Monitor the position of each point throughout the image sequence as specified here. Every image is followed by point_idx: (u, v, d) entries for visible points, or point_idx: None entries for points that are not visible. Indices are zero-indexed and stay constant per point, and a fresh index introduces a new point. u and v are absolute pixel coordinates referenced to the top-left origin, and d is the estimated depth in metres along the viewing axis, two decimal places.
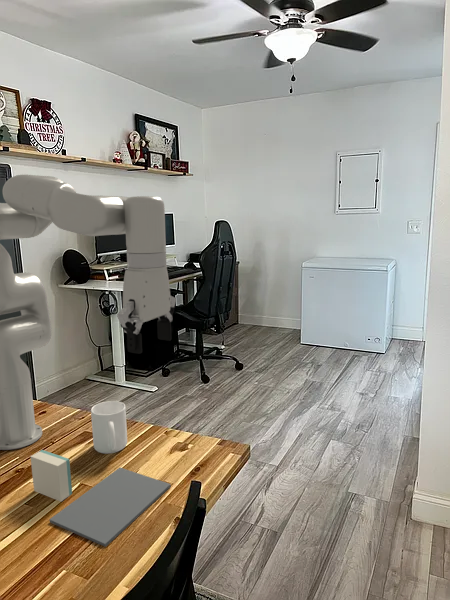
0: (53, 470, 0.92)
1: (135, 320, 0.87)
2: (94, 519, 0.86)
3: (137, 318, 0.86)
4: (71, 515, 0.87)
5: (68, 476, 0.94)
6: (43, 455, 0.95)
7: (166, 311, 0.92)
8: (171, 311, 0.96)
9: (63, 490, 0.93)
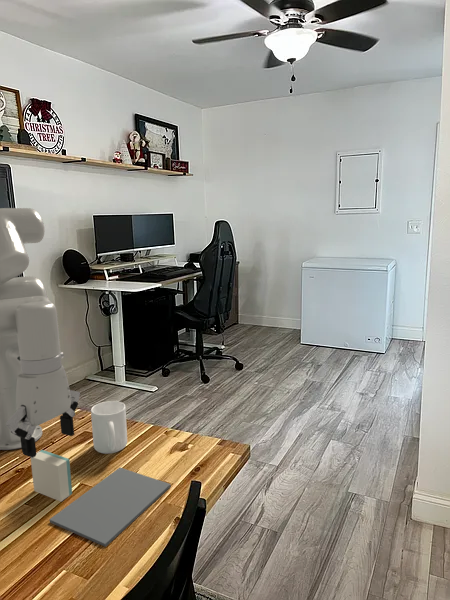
0: (53, 470, 0.92)
1: (28, 424, 0.88)
2: (94, 519, 0.86)
3: (30, 422, 0.88)
4: (71, 515, 0.87)
5: (68, 476, 0.94)
6: (43, 455, 0.95)
7: (65, 409, 0.94)
8: (74, 406, 0.97)
9: (63, 490, 0.93)
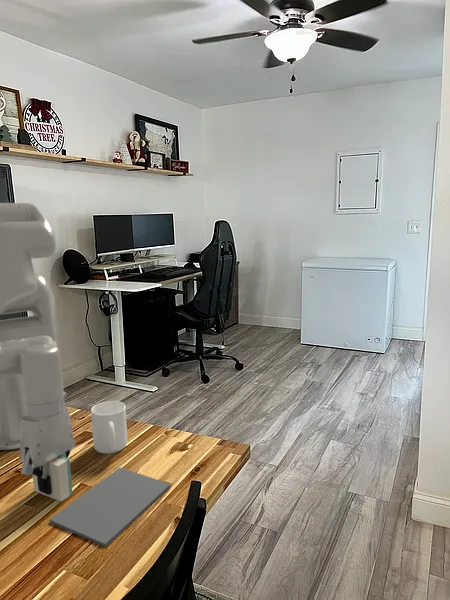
0: (53, 470, 0.92)
1: None
2: (94, 519, 0.86)
3: None
4: (71, 515, 0.87)
5: (68, 476, 0.94)
6: None
7: (67, 448, 0.96)
8: (66, 455, 0.97)
9: (63, 490, 0.93)
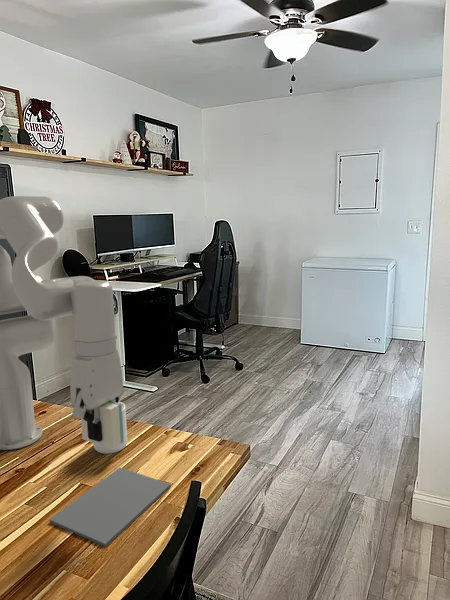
0: (105, 414, 0.86)
1: None
2: (94, 519, 0.86)
3: None
4: (71, 515, 0.87)
5: (120, 422, 0.88)
6: None
7: (118, 393, 0.90)
8: (115, 401, 0.92)
9: (115, 436, 0.87)
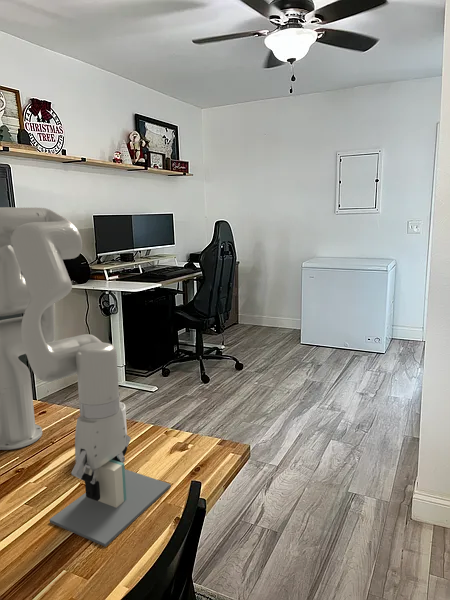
0: (109, 475, 0.89)
1: (91, 468, 0.88)
2: (94, 519, 0.86)
3: None
4: (71, 515, 0.87)
5: (123, 481, 0.91)
6: None
7: (121, 450, 0.93)
8: (123, 451, 0.95)
9: (118, 495, 0.90)
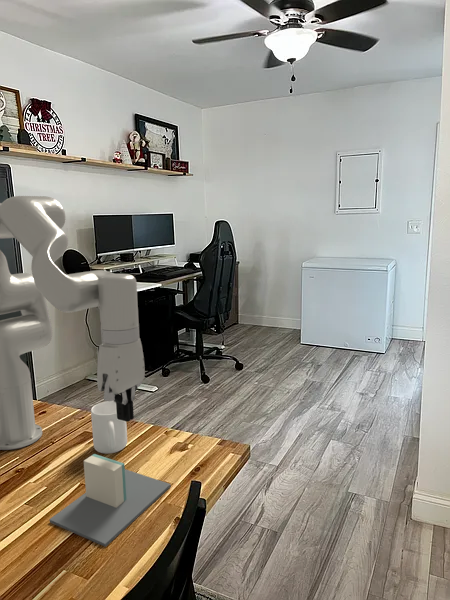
0: (109, 475, 0.89)
1: None
2: (94, 519, 0.86)
3: (119, 392, 0.93)
4: (71, 515, 0.87)
5: (123, 481, 0.91)
6: (96, 460, 0.92)
7: (140, 380, 0.96)
8: None
9: (118, 495, 0.90)
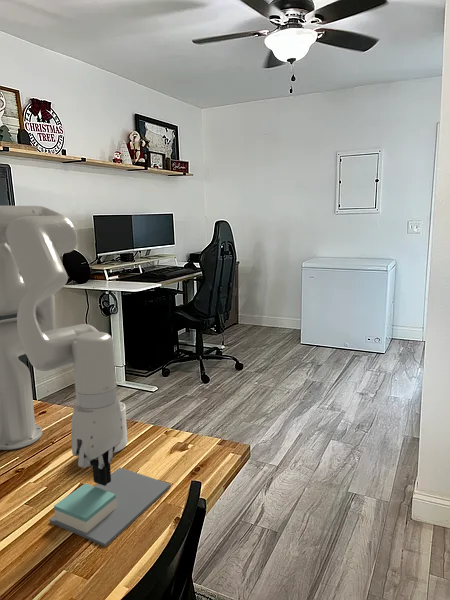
0: None
1: None
2: None
3: None
4: None
5: (100, 509, 0.85)
6: (63, 516, 0.85)
7: (118, 441, 0.92)
8: None
9: (108, 510, 0.88)
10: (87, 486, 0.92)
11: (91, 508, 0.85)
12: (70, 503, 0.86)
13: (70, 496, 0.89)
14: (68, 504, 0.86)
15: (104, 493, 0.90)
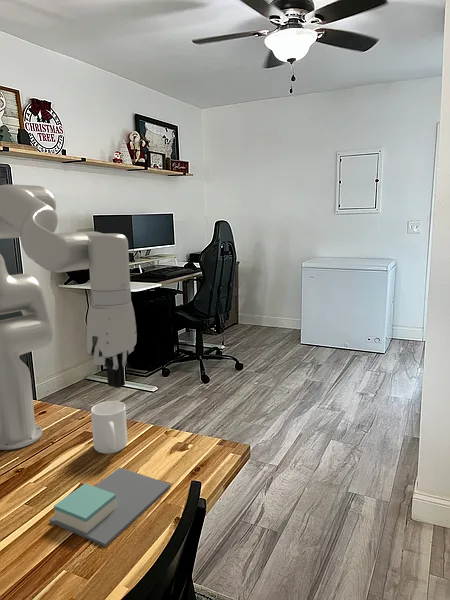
0: None
1: None
2: None
3: (110, 357, 0.89)
4: None
5: (100, 509, 0.85)
6: (63, 516, 0.85)
7: (132, 345, 0.93)
8: None
9: (108, 510, 0.88)
10: (87, 486, 0.92)
11: (91, 508, 0.85)
12: (70, 503, 0.86)
13: (70, 496, 0.89)
14: (68, 504, 0.86)
15: (104, 493, 0.90)
